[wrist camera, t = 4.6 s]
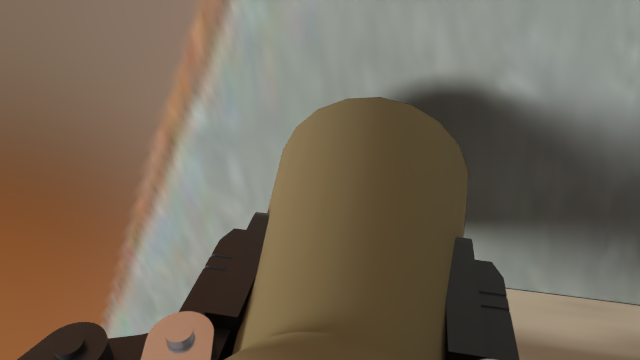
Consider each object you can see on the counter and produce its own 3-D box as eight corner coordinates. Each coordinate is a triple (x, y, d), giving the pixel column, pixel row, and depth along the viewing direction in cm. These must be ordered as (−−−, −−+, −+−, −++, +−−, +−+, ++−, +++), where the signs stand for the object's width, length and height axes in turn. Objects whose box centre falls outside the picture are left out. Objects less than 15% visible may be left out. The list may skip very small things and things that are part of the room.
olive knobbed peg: (359, 54, 13) (205, 460, 4) (512, 184, 14) (672, 729, 5) (245, 186, 16) (9, 586, 7) (378, 284, 17) (327, 733, 8)
